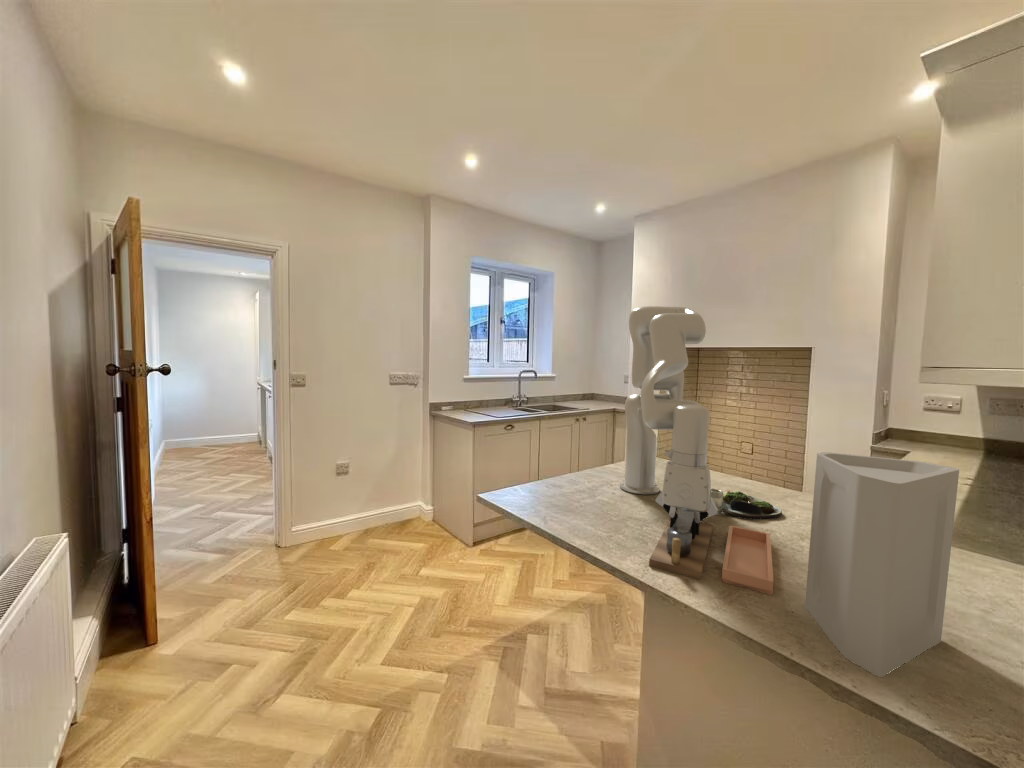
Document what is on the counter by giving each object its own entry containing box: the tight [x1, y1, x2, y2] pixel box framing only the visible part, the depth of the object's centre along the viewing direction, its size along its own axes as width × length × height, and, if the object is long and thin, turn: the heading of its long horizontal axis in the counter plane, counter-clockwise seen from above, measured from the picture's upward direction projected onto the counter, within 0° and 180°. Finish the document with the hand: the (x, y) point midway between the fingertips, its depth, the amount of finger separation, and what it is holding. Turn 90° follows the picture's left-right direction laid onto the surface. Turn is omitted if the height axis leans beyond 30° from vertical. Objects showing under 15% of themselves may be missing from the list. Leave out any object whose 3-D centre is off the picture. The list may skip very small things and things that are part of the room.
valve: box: [711, 488, 724, 516], centre depth 116 cm, size 7×7×12 cm
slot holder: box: [721, 525, 775, 596], centre depth 91 cm, size 25×9×3 cm, turn 150°
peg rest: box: [648, 520, 714, 580], centre depth 97 cm, size 28×10×6 cm, turn 150°
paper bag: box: [804, 451, 960, 678], centre depth 68 cm, size 19×15×28 cm
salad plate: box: [722, 490, 783, 520], centre depth 123 cm, size 19×18×5 cm
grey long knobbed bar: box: [666, 508, 700, 556], centre depth 98 cm, size 21×5×4 cm, turn 150°
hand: (684, 533), depth 98 cm, fingers closed on grey long knobbed bar, 3 cm apart
